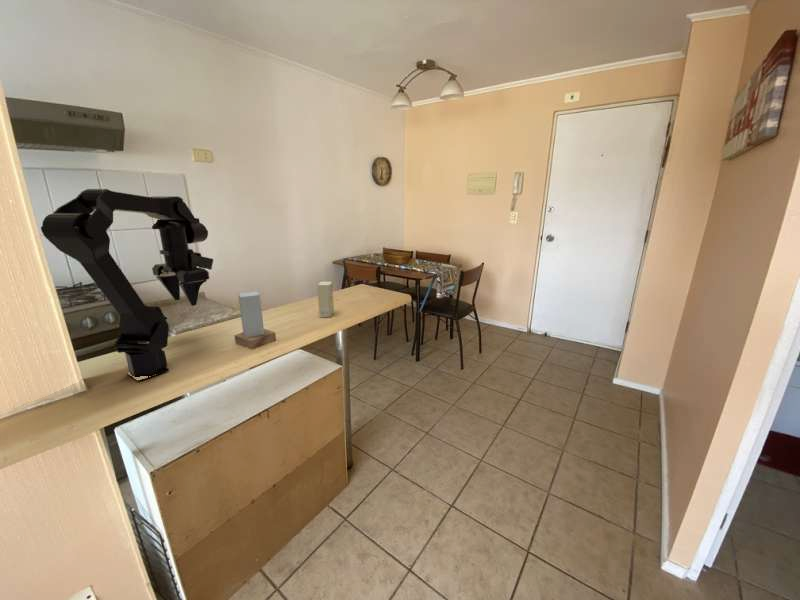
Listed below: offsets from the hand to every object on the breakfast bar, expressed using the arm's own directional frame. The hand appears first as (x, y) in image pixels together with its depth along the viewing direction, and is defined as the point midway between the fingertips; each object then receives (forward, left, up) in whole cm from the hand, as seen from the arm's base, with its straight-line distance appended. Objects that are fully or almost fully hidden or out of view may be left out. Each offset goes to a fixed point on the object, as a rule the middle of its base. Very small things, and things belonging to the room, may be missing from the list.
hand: (185, 302), depth 92 cm
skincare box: (+42, -11, -13) cm, 45 cm away
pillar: (+12, -12, -10) cm, 20 cm away
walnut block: (+12, -12, -13) cm, 22 cm away
